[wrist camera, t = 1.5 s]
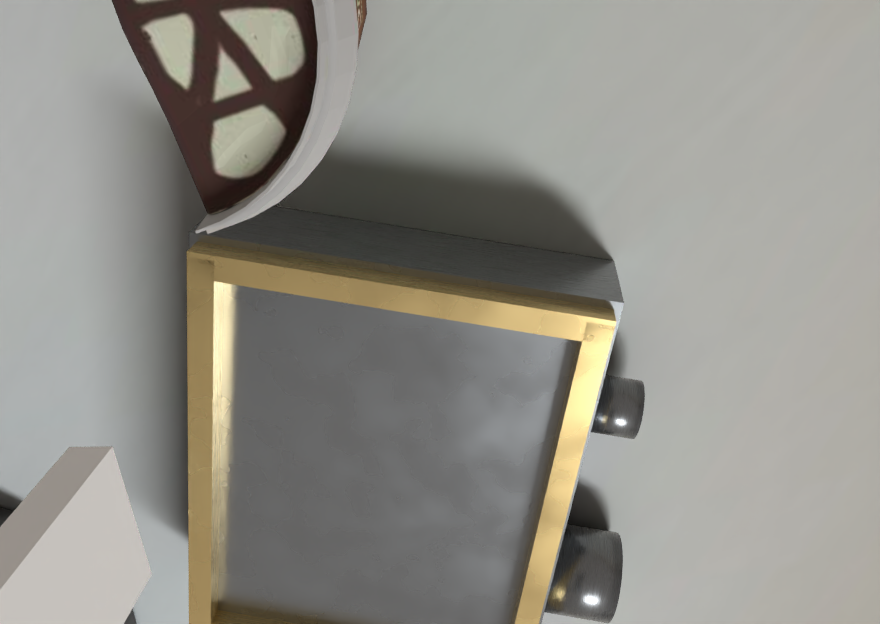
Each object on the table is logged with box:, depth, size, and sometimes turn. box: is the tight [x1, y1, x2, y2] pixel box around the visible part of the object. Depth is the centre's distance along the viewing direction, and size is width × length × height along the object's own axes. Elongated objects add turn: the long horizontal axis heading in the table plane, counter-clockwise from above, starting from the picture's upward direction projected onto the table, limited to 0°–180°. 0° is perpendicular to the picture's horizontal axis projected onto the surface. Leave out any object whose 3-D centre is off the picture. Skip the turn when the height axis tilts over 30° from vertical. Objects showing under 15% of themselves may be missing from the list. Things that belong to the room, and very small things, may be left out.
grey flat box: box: [187, 206, 645, 624], centre depth 35 cm, size 19×20×5 cm
